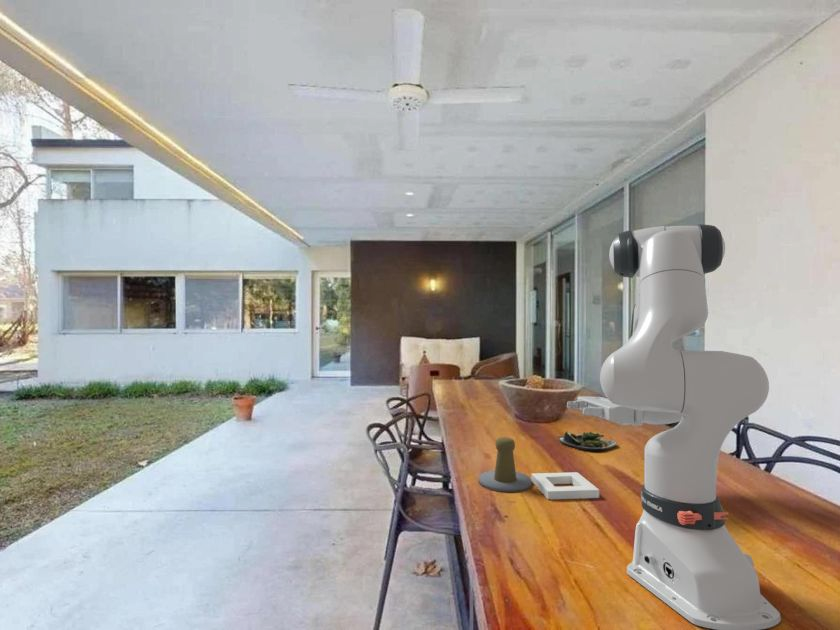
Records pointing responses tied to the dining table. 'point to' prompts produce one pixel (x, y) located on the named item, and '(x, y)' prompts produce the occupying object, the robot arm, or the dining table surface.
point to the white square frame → (577, 491)
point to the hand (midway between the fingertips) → (575, 408)
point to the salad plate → (586, 441)
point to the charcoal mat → (490, 483)
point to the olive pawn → (505, 461)
